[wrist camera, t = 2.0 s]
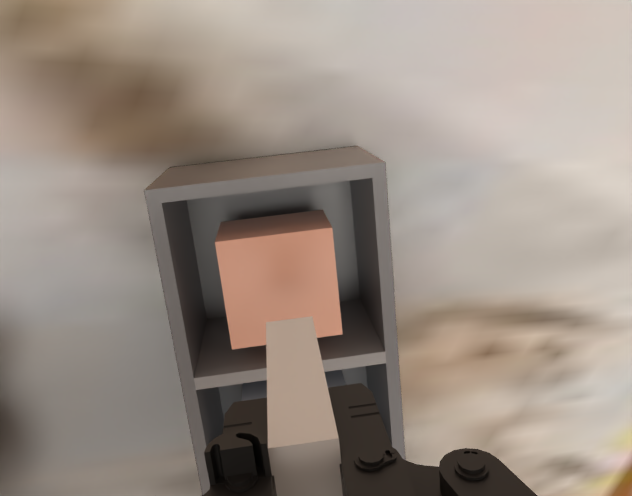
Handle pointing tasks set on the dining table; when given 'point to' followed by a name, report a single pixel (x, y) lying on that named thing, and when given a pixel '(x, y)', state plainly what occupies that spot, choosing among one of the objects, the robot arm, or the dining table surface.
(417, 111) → the dining table surface
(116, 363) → the dining table surface
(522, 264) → the dining table surface
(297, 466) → the robot arm
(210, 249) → the compartment tray
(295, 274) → the key
